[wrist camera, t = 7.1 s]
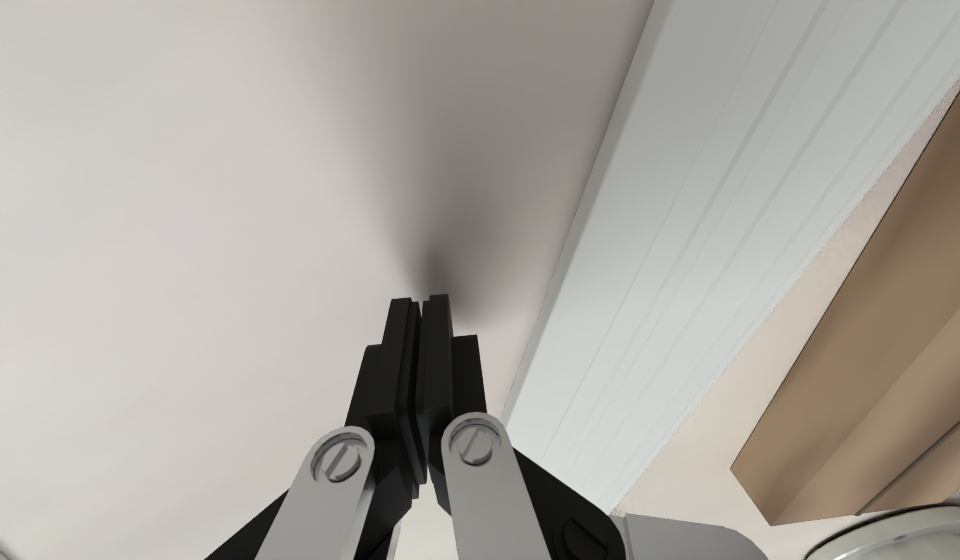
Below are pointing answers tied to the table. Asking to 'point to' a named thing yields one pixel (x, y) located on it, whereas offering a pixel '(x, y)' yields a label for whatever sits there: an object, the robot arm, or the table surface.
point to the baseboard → (713, 210)
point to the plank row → (876, 369)
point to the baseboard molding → (2, 557)
